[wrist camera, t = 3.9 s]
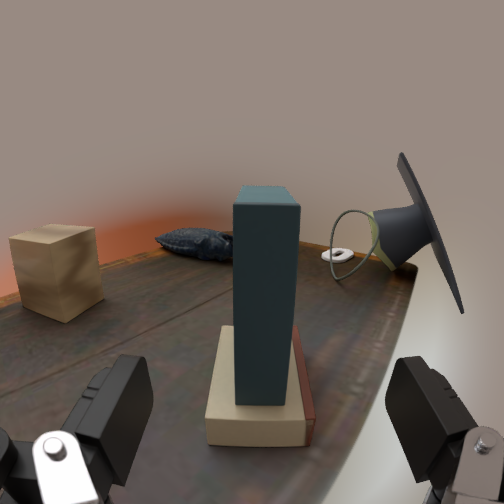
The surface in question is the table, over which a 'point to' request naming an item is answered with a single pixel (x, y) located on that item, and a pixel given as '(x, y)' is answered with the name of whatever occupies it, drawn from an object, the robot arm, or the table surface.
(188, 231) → the fish model
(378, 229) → the loop
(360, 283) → the table surface
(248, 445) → the cream book
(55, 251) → the birch box
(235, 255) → the teal rectangular block
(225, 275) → the table surface
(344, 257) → the chain link
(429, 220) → the graduation cap
